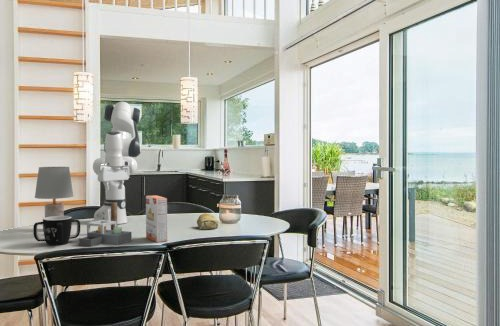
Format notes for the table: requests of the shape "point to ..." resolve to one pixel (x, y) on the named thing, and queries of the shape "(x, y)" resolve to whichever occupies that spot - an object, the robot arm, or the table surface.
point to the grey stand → (108, 232)
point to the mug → (57, 230)
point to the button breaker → (100, 229)
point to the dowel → (113, 212)
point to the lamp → (53, 188)
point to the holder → (90, 241)
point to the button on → (117, 230)
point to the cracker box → (156, 218)
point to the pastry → (207, 222)
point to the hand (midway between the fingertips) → (113, 189)
